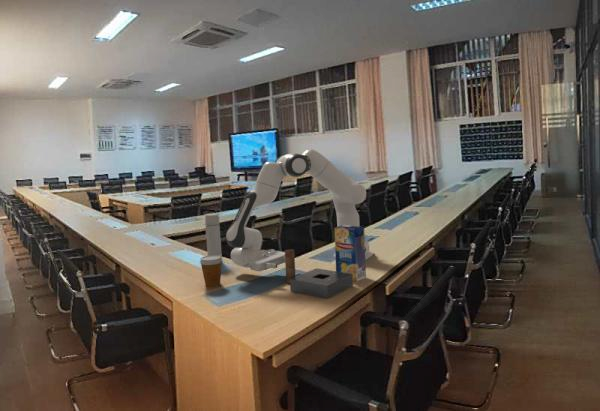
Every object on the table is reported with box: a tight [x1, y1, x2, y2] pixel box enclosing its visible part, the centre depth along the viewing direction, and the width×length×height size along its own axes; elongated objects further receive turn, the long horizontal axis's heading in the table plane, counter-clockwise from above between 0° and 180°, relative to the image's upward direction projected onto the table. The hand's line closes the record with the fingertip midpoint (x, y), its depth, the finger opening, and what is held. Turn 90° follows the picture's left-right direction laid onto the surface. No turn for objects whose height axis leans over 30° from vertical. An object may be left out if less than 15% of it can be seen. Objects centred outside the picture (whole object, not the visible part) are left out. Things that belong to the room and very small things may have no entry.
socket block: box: [289, 267, 354, 300], centre depth 179 cm, size 18×18×5 cm
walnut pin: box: [284, 249, 297, 285], centre depth 189 cm, size 4×4×14 cm
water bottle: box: [203, 213, 223, 259], centre depth 231 cm, size 9×8×25 cm
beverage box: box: [334, 225, 367, 282], centre depth 192 cm, size 7×11×22 cm, turn 46°
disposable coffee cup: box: [199, 255, 223, 288], centre depth 191 cm, size 10×10×12 cm
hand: (283, 263), depth 191 cm, fingers open, 8 cm apart
